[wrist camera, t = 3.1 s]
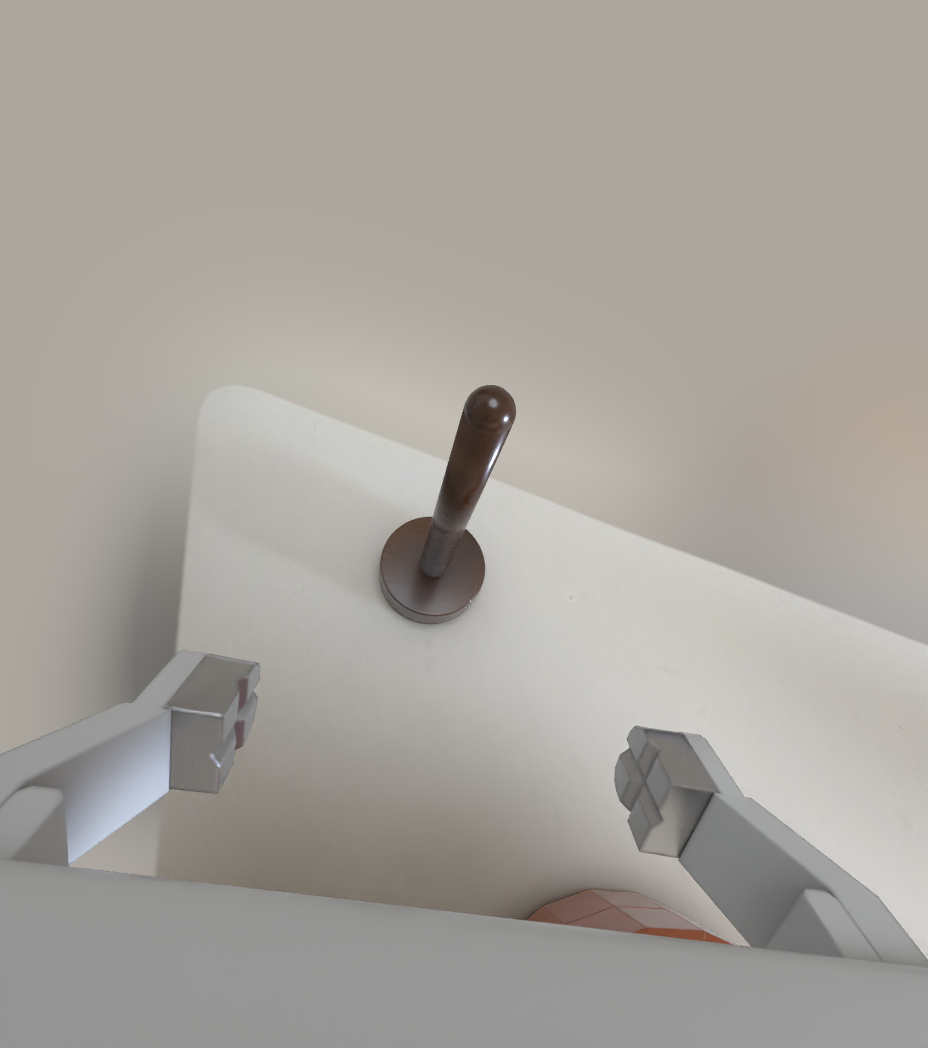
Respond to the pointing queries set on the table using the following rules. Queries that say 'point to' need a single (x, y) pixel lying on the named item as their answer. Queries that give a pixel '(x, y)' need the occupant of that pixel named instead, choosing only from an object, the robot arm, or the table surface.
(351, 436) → the table surface
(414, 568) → the masher
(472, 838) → the table surface
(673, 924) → the bowl
